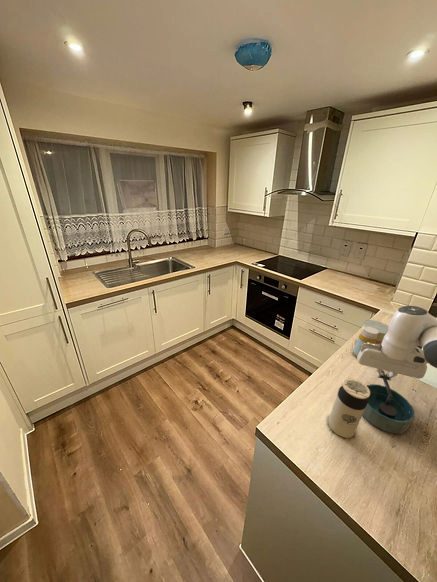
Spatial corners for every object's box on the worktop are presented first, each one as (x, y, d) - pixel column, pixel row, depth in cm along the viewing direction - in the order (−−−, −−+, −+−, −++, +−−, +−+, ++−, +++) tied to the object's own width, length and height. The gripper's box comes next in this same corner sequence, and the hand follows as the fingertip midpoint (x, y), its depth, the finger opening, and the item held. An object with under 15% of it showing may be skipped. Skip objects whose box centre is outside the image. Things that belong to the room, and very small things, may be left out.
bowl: (400, 403, 87) (406, 392, 85) (414, 441, 74) (421, 429, 72) (354, 390, 92) (359, 379, 89) (360, 424, 79) (366, 412, 76)
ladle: (384, 384, 92) (390, 371, 89) (396, 421, 77) (403, 407, 74) (370, 380, 93) (374, 367, 91) (379, 416, 79) (385, 402, 76)
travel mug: (330, 411, 83) (344, 373, 75) (355, 424, 79) (372, 385, 71) (325, 428, 77) (339, 389, 70) (352, 443, 73) (370, 403, 65)
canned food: (383, 344, 119) (391, 325, 114) (382, 357, 110) (391, 336, 105) (358, 336, 124) (365, 317, 119) (356, 348, 116) (363, 327, 111)
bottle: (354, 358, 109) (364, 332, 102) (351, 349, 115) (360, 323, 108) (371, 362, 107) (382, 335, 100) (367, 352, 113) (377, 326, 107)
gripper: (364, 346, 82) (353, 375, 88) (435, 362, 76) (418, 392, 82) (361, 336, 88) (351, 364, 94) (427, 350, 81) (412, 379, 87)
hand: (383, 378), depth 88 cm, fingers closed on ladle
